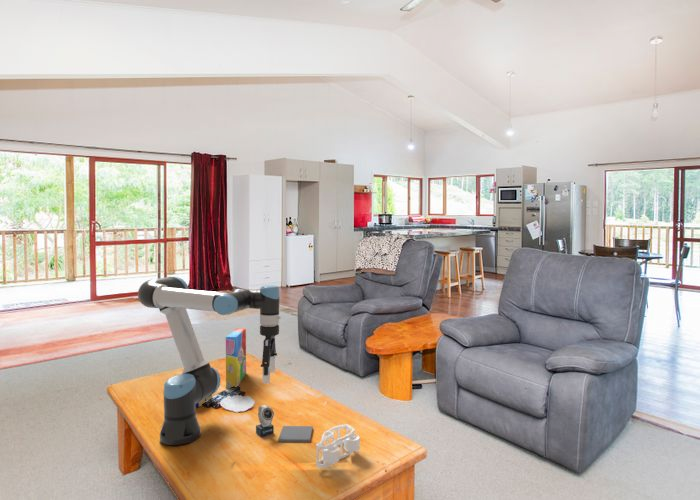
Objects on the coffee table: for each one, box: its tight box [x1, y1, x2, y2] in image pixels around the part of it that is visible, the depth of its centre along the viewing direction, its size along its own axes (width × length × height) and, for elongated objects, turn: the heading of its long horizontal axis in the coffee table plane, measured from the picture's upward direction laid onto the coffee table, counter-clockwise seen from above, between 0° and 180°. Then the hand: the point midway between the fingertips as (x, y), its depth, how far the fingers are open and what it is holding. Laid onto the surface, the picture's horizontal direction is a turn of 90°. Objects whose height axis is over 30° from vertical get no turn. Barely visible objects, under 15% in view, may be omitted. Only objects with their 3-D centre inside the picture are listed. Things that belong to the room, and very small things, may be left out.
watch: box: [255, 404, 275, 438], centre depth 182 cm, size 6×8×11 cm
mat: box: [277, 425, 314, 443], centre depth 180 cm, size 12×12×1 cm
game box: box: [225, 328, 247, 389], centre depth 241 cm, size 21×6×27 cm, turn 179°
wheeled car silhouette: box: [315, 423, 361, 469], centre depth 163 cm, size 20×11×7 cm, turn 139°
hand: (268, 377), depth 184 cm, fingers open, 13 cm apart
